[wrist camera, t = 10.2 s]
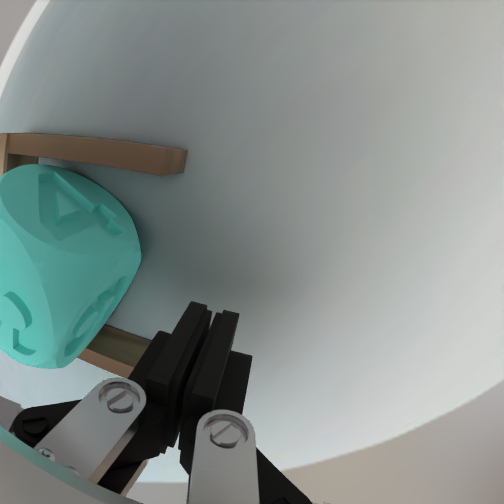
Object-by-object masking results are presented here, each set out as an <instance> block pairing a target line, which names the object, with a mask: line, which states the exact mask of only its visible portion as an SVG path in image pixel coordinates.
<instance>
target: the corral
mask: <svg viewBox="0 0 504 504" xmlns="http://www.w3.org/2000/svg"><path fill="white" fill-rule="evenodd" d="M186 155H187V150H184V149H178V148H171V147H165V146H159V145H152V144H145V143H138V142H130V141H122V140H114V139H105V138H95V137H85V136H73V135H60V134H44V133H1V134H0V176H2V175H3V174H5V173H6V172H8V171H10V170H12V169H14V168H16V167H19V166H22V165H29V164H37V162H38V157H46V158H53V159H61V160H68V161H76V162H82V163H89V164H96V165H102V166H108V167H115V168H121V169H126V170H132V171H138V172H144V173H149V174H155V175H160V176H163V175H169V174H176V173H182V172H183V171H184V166H185V160H186ZM150 343H151V340H148V339H145V338H142V337H139V336H136V335H133V334H130V333H127V332H125V331H122V330H119V329H116V328H114V327H111V326H108V325H106V324H104V325H103V327H102V328H101V329H100V331H99V332H98V333H97V335H96V336H95V337H94V338H93V340H92V341H91V342H90V343H89V344H88V346H87V347H86V348H85V349H84V350H83V351H82V352H81V353H80V354H79V355H78V356H77V358H79V359H81V360H84V361H86V362H88V363H90V364H93V365H95V366H97V367H100V368H102V369H104V370H107V371H109V372H112V373H114V374H117V375H119V376H122V377H124V378H128V377H129V375H130V374H131V372H132V371H133V369H134V367H135V366H136V364H137V363H138V361H139V360H140V358H141V357H142V355H143V354H144V352H145V351H146V349H147V347H148V346H149V344H150Z"/></svg>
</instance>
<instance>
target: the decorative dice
mask: <svg viewBox="0 0 504 504" xmlns="http://www.w3.org/2000/svg"><path fill="white" fill-rule="evenodd" d="M140 262H141V249H140V243H139V239H138V235H137V232H136V229H135V226H134V223H133V220H132V218H131V216H130V215H129V213H128V212H127V210H126V209H125V208H124V207H123V205H122V204H121V203H120V202H119V201H118V200H117V199H116V198H115V197H113V196H112V195H111V194H110V193H109V192H107V191H106V190H105V189H103V188H102V187H100V186H99V185H97V184H96V183H94V182H92V181H91V180H89V179H87V178H85V177H83V176H81V175H79V174H76V173H74V172H71V171H69V170H66V169H63V168H59V167H55V166H50V165H43V164H29V165H22V166H19V167H16V168H14V169H12V170H10V171H8V172H6V173H5V174H3V175H2V176H0V349H1V350H2V351H3V352H4V353H5V354H7V355H8V356H9V357H11V358H12V359H14V360H16V361H18V362H20V363H22V364H25V365H29V366H33V367H38V368H47V369H55V368H63V367H65V366H67V365H68V364H70V363H71V362H72V361H73V360H74V359H75V358H76V357H77V356H78V355H79V354H80V353H81V352H82V351H83V350H84V349H85V348H86V347H87V346H88V344H89V343H90V342H91V341H92V340H93V338H94V337H95V336H96V335H97V333H98V332H99V331H100V329H101V328H102V327H103V325H104V324H105V323H106V321H107V320H108V319H109V317H110V316H111V314H112V313H113V311H114V310H115V308H116V307H117V305H118V304H119V302H120V301H121V299H122V298H123V296H124V294H125V293H126V291H127V289H128V288H129V286H130V284H131V282H132V281H133V279H134V277H135V275H136V273H137V270H138V268H139V265H140Z"/></svg>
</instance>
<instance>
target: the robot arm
mask: <svg viewBox="0 0 504 504" xmlns="http://www.w3.org/2000/svg"><path fill="white" fill-rule="evenodd" d="M211 316H212V311H210V310H207V305H204V304H200V303H197V302H193V301H191V302H190V304H189V306H188V307H187V309H186V311H185V312H184V314H183V316H182V317H181V319H180V321H179V322H178V324H177V326H176V327H175V329H174V331H173V332H172V334H170V333H166V332H163V331H158V333H157V334H156V335H155V337H154V338H153V340H152V341H151V343H150V344H149V346H148V347H147V349H146V351H145V352H144V354H143V355H142V357H141V358H140V360H139V361H138V363H137V364H136V366H135V367H134V369H133V371H132V372H131V374H130V375H129V377H128V378H127V379H126V378H119V377H117V378H109V379H106V380H103V381H102V382H100V383H99V384H98V385H97V386H96V387H95V388H94V389H92V390H91V391H90V392H89V393H88V394H87V395H86V396H85V397H84V398H83V399H81V400H76V401H70V402H64V403H58V404H51V405H45V406H37V407H31V408H27V409H23V408H22V406H21V405H20V404H18V403H15V402H13V401H10V400H8V399H6V398H3V397H1V396H0V504H143V503H139V502H137V501H134V500H132V499H129V498H127V497H125V496H126V495H127V493H128V492H129V490H130V489H131V488H132V486H133V484H134V483H135V482H136V480H137V479H138V477H139V476H140V474H141V473H142V471H143V470H144V468H145V467H146V465H147V463H148V461H149V459H150V458H154V457H157V456H159V454H160V453H163V454H165V452H166V449H167V446H169V447H172V448H173V447H174V445H175V443H176V440H177V437H178V435H179V445H178V449H179V450H181V453H180V464H181V465H182V467H183V468H184V469H185V471H186V472H187V474H188V475H189V479H188V489H187V499H186V504H317V503H313V502H311V501H310V500H309V499H308V497H307V496H306V495H304V494H303V493H302V492H301V491H300V490H299V489H298V488H297V487H296V486H295V485H294V484H292V483H291V482H290V481H289V480H288V479H287V478H286V477H285V476H284V475H283V474H282V473H281V472H280V471H279V470H278V469H277V468H276V467H275V466H274V465H273V464H272V463H271V462H270V461H269V460H268V459H267V458H266V457H265V456H264V455H263V454H262V453H261V452H260V451H259V450H258V449H257V448H256V441H255V432H254V428H253V426H252V424H251V423H250V421H249V420H248V419H246V418H245V417H244V416H243V415H242V412H243V406H244V401H245V396H246V390H247V385H248V379H249V373H250V368H251V362H252V356H251V355H247V354H243V353H239V352H235V351H231V348H232V344H233V339H234V335H235V331H236V327H237V322H238V318H239V313H235V312H231V311H227V310H224V311H223V313H218V312H217V313H216V315H215V317H214V320H213V322H212V324H211V327H210V321H211ZM209 327H210V329H209ZM179 432H180V434H179ZM322 504H329V503H324V502H323V503H322Z"/></svg>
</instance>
